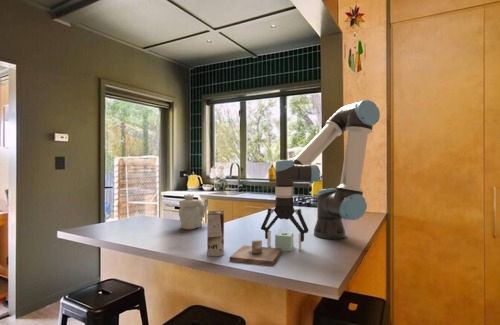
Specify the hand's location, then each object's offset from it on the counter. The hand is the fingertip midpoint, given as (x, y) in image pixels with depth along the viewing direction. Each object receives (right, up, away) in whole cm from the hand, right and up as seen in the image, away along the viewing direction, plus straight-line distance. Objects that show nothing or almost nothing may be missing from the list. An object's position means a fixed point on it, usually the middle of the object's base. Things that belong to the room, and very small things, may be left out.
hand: (284, 248), depth 125 cm
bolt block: (-12, 0, -11) cm, 16 cm away
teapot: (-45, -1, +43) cm, 62 cm away
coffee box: (-28, 0, -6) cm, 29 cm away
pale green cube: (0, 0, 0) cm, 0 cm away
